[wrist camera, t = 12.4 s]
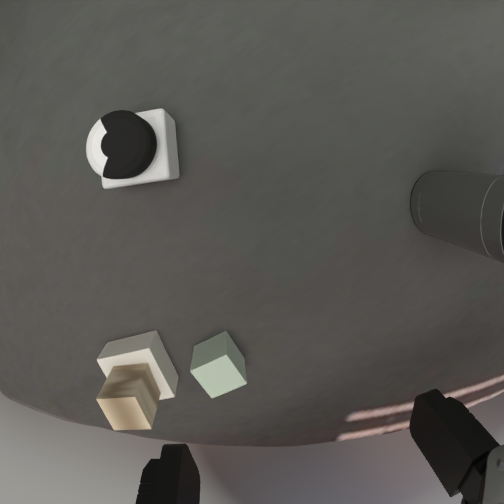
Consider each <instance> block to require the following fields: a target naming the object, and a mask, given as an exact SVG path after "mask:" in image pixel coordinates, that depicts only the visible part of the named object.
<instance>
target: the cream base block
mask: <svg viewBox="0 0 504 504" xmlns="http://www.w3.org/2000/svg"><path fill="white" fill-rule="evenodd" d="M97 362H98V363H99V365H100V367H101V369H102V370H103V372H104V374H105V376H106V377H108V375H109V374H110V372H111V370H112V368H113V366H121V365H130V364H139V363H147V362H148V364H149V366H150V369H151V371H152V373H153V376H154V378H155V381H156V383H157V385H158V388H159V390H160V392H161V394H160V398H159V400H161V399H167V398H172V397H175V393H176V388H177V383H178V378H179V376H178V374H177V372H176V370H175V368H174V366H173V364H172V362H171V360H170V358H169V356H168V354H167V352H166V350H165V348H164V345H163V343H162V341H161V339H160V337H159V335H158V332H157V330H155V331H151V332H148V333H144V334H140V335H136V336H131V337H127V338H123V339H119V340H115V341H111V342H107V344H106V345H105V347H104V349H103V350H102V352H101V353H100V355H99V356H98V358H97Z"/></svg>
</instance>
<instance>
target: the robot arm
mask: <svg viewBox="0 0 504 504" xmlns="http://www.w3.org/2000/svg"><path fill="white" fill-rule="evenodd" d="M411 213H412V216H413V220H414V222H415V223H416V225H417V227H418V228H419V229H420V230H421V231H423V232H424V233H426V234H428V235H431V236H434V237H437V238H439V239H442V240H444V241H447V242H450V243H453V244H455V245H458V246H461V247H464V248H466V249H469V250H471V251H474V252H477V253H479V254H482V255H484V256H487V257H489V258H492V259H494V260H497V261H500V262H502V263H504V176H503V175H492V174H479V173H463V172H446V171H431V172H428V173H426V174H424V175H423V176H421V177H420V179H419V180H418V181H417V183H416V184H415V186H414V189H413V191H412V196H411ZM410 433H411V436H412V438H413V439H414V441H415V442H416V444H417V446H418V447H419V449H420V450H421V452H422V453H423V455H424V456H425V458H426V460H427V461H428V462H429V464H430V466H431V467H432V469H433V470H434V472H435V474H436V475H437V477H438V478H439V480H440V482H441V483H442V485H443V486H444V488H445V489H446V491H447V492H448V494H449V496H450V497H452V496H454V495H456V494H458V493H460V492H461V493H462V495H463V498H462V501H461V504H504V445H499V444H498V443H497V442H496V440H495V439H494V438H493V437H492V436H491V435H490V434H489V432H488V431H487V430H486V429H485V428H484V427H483V426H482V425H481V423H480V422H479V421H478V420H477V419H475V417H474V416H473V415H472V414H471V413H469V410H468V409H467V408H466V407H465V406H464V405H463V404H462V403H461V402H460V401H458V400H456V399H454V398H452V397H448V398H445V397H444V396H443V395H442V393H441V392H440V391H439V390H437V389H433V390H430V391H428V392H425V393H423V394H420V395H418V396H417V397H416V398H415V402H414V407H413V411H412V416H411V420H410ZM140 483H141V484H140V485H139V490H138V493H139V494H138V495H137V499H136V504H199V501H200V475H199V471H198V468H197V466H196V463H195V461H194V459H193V457H192V455H191V453H190V450H189V448H188V446H187V445H186V444H164V446H163V447H162V451H161V457H160V459H151V460H150V461H149V462H148V464H147V465H146V466H145V468H144V469H143V472H142V476H141V481H140Z"/></svg>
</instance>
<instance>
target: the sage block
mask: <svg viewBox="0 0 504 504" xmlns="http://www.w3.org/2000/svg"><path fill="white" fill-rule="evenodd" d="M190 372H191V373H192V374H193V375H194V377H195V378H196V379H197V380H198V382H199V383H200V384H201V386H202V387H203V388H204V389H205V391H206V392H207V393H208V394H209V395H210V397H211V398H214V397H217V396H219V395H222V394H224V393H227V392H229V391H231V390H234V389H236V388H238V387H241V386H243V385H245V384H247V378H246V369H245V360H244V357H243V355H242V354H241V352H240V351H239V349H238V348H237V346H236V345H235V343H234V342H233V340H232V339H231V337H230V336H229V334H228V333H227V331H224V332H222V333H220V334H218V335H216V336H214V337H212V338H210V339H208V340H206V341H204V342H202V343H199V344H197V345H195V346H194V350H193V356H192V362H191V368H190Z"/></svg>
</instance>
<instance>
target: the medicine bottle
mask: <svg viewBox="0 0 504 504" xmlns="http://www.w3.org/2000/svg"><path fill="white" fill-rule="evenodd" d="M86 153H87V158H88V161H89V163H90V165H91V167H92V168H93V169H94V171H95V172H96V173H98V174H99V175H101V177H102V186H103V188H104V189H109V188H117V187H124V186H131V185H137V184H144V183H150V182H157V181H164V180H171V179H178V178H179V176H180V173H179V163H178V152H177V140H176V128H175V121H174V120H173V119H172V117H171V116H170V115H169V114H168V113H167V112H166V111H165V110H164V109H155V110H149V111H144V112H138V113H133V112H130V111H125V110H119V111H114V112H111V113H108V114H106V115H105V116H103V117H102V118H100V119H99V120H98V121H97V122H96V124H95V125H94V126H93V128H92V129H91V131H90V133H89V136H88V139H87V145H86Z"/></svg>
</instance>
